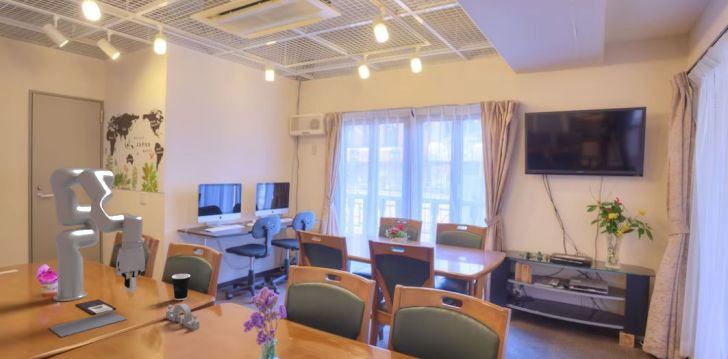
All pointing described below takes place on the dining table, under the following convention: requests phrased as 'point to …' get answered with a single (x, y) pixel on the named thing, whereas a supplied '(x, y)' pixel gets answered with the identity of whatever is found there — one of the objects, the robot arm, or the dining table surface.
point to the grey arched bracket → (187, 319)
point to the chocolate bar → (95, 307)
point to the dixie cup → (180, 286)
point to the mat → (86, 324)
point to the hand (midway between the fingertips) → (130, 286)
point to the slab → (131, 285)
